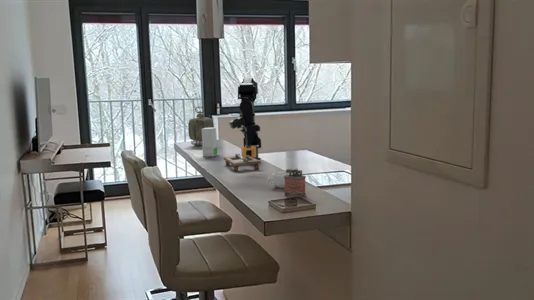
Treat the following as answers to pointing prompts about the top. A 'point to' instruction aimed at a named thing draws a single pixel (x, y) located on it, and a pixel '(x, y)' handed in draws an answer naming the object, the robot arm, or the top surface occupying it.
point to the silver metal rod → (241, 157)
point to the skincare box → (209, 142)
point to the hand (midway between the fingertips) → (248, 145)
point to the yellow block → (243, 149)
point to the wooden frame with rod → (241, 162)
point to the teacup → (278, 179)
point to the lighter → (294, 183)
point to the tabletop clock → (199, 126)
